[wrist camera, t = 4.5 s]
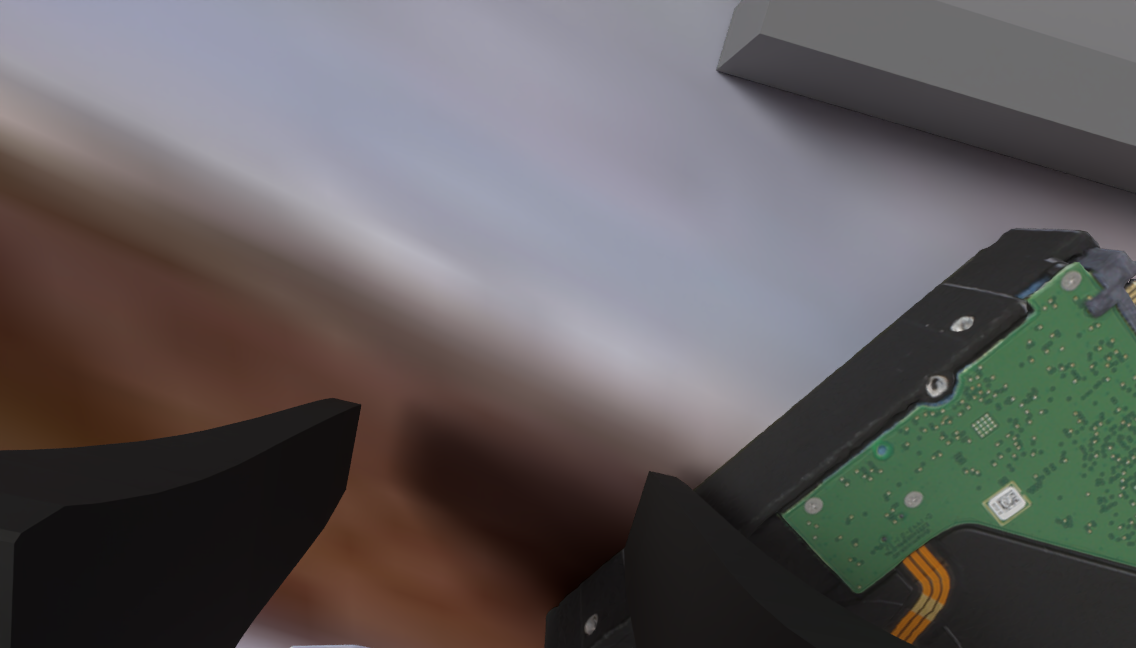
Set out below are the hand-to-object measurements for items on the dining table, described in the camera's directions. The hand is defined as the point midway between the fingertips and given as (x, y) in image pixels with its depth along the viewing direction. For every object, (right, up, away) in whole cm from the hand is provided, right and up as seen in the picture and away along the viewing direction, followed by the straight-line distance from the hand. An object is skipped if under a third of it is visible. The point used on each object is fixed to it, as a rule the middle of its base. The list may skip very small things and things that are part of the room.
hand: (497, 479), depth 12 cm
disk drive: (+10, -3, +3) cm, 10 cm away
